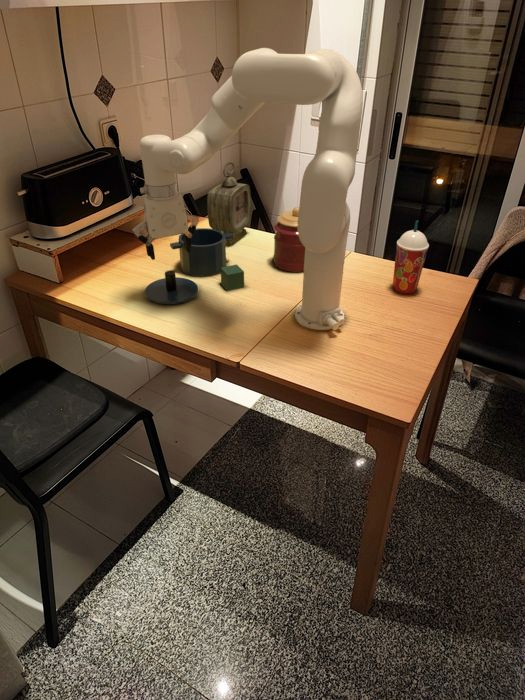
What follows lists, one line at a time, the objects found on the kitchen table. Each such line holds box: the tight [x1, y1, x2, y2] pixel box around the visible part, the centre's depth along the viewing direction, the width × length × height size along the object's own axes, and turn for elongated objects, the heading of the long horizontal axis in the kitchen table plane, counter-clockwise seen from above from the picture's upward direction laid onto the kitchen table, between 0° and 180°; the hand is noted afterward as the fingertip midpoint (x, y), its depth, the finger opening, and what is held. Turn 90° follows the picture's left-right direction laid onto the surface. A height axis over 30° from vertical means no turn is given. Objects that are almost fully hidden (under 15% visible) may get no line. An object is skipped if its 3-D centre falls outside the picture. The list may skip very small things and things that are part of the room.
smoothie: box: [392, 220, 430, 294], centre depth 141 cm, size 8×8×20 cm
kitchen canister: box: [273, 206, 305, 273], centre depth 155 cm, size 13×13×18 cm
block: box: [220, 264, 245, 292], centre depth 146 cm, size 5×5×5 cm
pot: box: [169, 227, 234, 278], centre depth 155 cm, size 14×19×10 cm
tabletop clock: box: [206, 161, 252, 246], centre depth 169 cm, size 14×9×25 cm, turn 155°
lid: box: [144, 270, 199, 305], centre depth 142 cm, size 15×15×6 cm
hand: (170, 254), depth 137 cm, fingers open, 9 cm apart
